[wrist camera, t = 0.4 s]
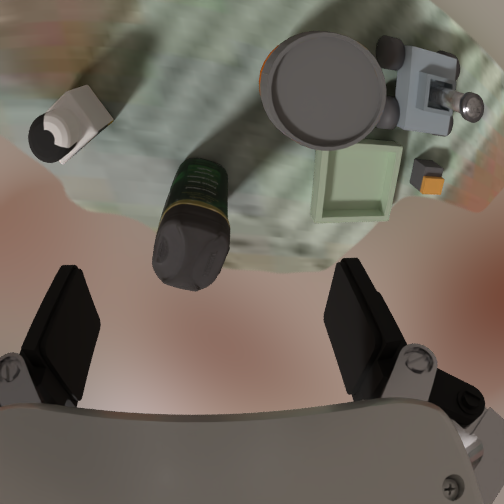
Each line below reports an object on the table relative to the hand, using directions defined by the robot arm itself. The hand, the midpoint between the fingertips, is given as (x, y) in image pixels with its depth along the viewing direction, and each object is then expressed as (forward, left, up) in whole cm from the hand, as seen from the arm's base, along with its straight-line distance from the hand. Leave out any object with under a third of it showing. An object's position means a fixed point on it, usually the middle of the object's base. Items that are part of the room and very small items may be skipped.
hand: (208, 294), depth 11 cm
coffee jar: (+12, -3, -36) cm, 38 cm away
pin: (-5, +29, -29) cm, 42 cm away
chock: (+9, +34, -36) cm, 50 cm away
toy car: (-5, +29, -36) cm, 46 cm away
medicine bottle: (-1, -19, -36) cm, 41 cm away
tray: (+11, +21, -36) cm, 43 cm away
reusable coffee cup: (-4, +11, -36) cm, 38 cm away
